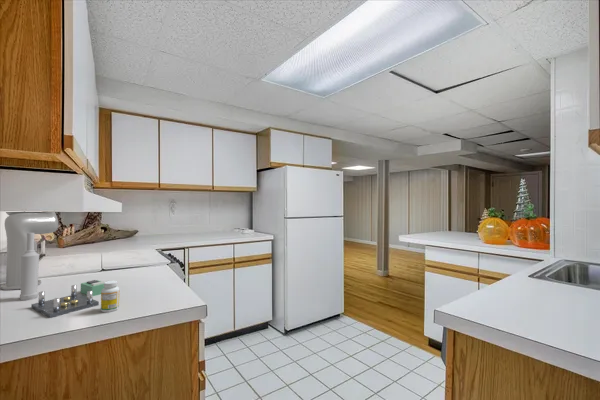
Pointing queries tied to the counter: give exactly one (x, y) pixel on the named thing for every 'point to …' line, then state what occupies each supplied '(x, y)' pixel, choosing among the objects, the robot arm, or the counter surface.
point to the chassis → (64, 303)
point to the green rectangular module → (92, 287)
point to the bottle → (29, 271)
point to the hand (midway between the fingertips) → (47, 203)
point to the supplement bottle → (110, 296)
